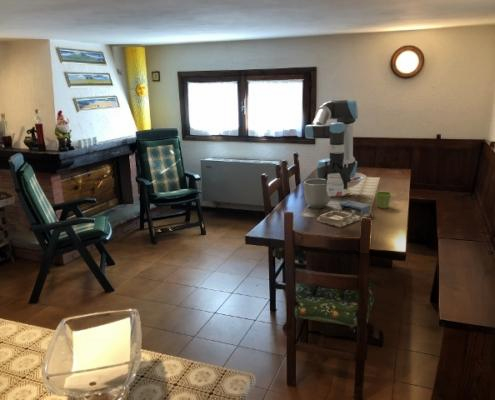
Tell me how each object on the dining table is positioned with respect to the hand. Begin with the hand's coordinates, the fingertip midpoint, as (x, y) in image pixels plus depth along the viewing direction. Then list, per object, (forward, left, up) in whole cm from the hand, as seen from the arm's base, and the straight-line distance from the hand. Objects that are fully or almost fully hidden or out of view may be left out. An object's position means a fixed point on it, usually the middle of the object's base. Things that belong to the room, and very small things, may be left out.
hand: (336, 193), depth 224 cm
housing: (0, +18, -14) cm, 23 cm away
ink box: (0, 0, -1) cm, 1 cm away
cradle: (0, +8, -16) cm, 18 cm away
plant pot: (+5, +40, -16) cm, 43 cm away
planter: (-25, +15, -16) cm, 33 cm away
